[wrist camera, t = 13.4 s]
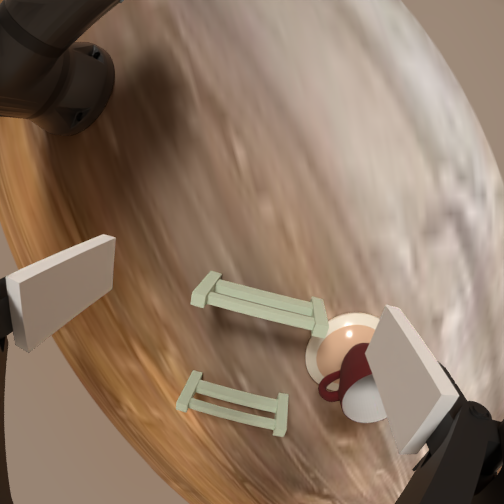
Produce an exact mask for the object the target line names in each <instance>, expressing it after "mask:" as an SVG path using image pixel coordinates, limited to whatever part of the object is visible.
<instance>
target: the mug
mask: <svg viewBox="0 0 504 504" xmlns="http://www.w3.org/2000/svg"><path fill="white" fill-rule="evenodd" d="M368 346H369V343H359V344H356V345H355V346H353V347H352V348H351V349H350V350H349V351H348V353H347V354H346V355H345V357H344V359H343V361H342V364H341V369H340V370H339V371H336V372H333V373H331V374H329V375H327V376H325V377H324V378H323V379H322V380H321V382H320V383H319V388H318V390H319V394H320V396H321V397H322V398H323V399H324V400H326V401H329V402H335V401H339V400H340V403H341V407H342V411H343V413H344V414H345V415H346V417H348V418H349V419H350V420H352V421H355V422H359V423H374V422H378V421H381V420H384V419H386V418H387V415H386V412H385V409H384V406H383V403H382V400H381V397H380V394H379V391H378V388H377V385H376V383H375V380H374V377H373V374H372V371H371V369H370V366H369V363H368V361H367V358H366V355H365V352H366V350H367V348H368ZM339 378H340V381H339V388H338V390H337V391H334V392H329V391H327V390H326V388H327V386H328V385H329V384H330V383H332V382H333V381H335V380H337V379H339Z"/></svg>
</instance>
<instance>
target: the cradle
mask: <svg viewBox="0 0 504 504" xmlns="http://www.w3.org/2000/svg"><path fill="white" fill-rule="evenodd" d="M221 276H222V274H221V273H217V272H214V271H210V272H209V274H208V275H207V276H206V277H205V278H204V279H203V280H202V282H201V283H200V284H199V285H198V286H197V287H196V288H195V290H194V291H193V292H192V297H191V305H194V306H198V307H201V308H204V307H205V305H206V304H210V305H213V306H217V307H221V308H224V309H228V310H232V311H235V312H239V313H243V314H247V315H251V316H254V317H258V318H262V319H266V320H270V321H274V322H278V323H283V324H287V325H291V326H295V327H299V328H304V329H308V330H311V333H312V336H315V337H319V338H324V339H325V337H326V334H327V332H328V329H329V324H328V319H327V315H326V310H325V306H324V302H323V299H320V298H316V297H312V298H311V301H310V302H307V301H303V300H299V299H295V298H291V297H287V296H283V295H279V294H275V293H271V292H267V291H263V290H259V289H255V288H251V287H247V286H243V285H240V284H236V283H232V282H228V281H224V280H221ZM214 292H216V293H214ZM218 293H220V294H218ZM221 294H224V295H221ZM225 295H228V296H225ZM229 296H231V297H229ZM232 297H235V298H232ZM236 298H239V299H236ZM240 299H243V300H240ZM244 300H247V301H244ZM248 301H250V302H248ZM252 302H254V303H252ZM255 303H258V304H255ZM259 304H262V305H259ZM263 305H266V306H263ZM267 306H270V307H267ZM271 307H274V308H271ZM275 308H278V309H275ZM279 309H282V310H279ZM283 310H286V311H283ZM287 311H290V312H287ZM292 312H294V313H292ZM296 313H299V314H296ZM300 314H303V315H300ZM304 315H307V316H304ZM308 316H310V317H308ZM201 379H202V372H198V371H195V370H193V371H192V373H191V375H190V377H189V379H188V381H187V383H186V385H185V387H184V389H183V391H182V393H181V394H180V396H179V398H178V400H177V403H176V409H177V410H180V411H183V412H187V410H188V408H190V409H193V410H197V411H200V412H203V413H207V414H210V415H214V416H217V417H221V418H225V419H228V420H232V421H236V422H240V423H244V424H248V425H253V426H257V427H262V428H266V429H271V430H273V435H275V436H280V437H284V435H285V433H286V430H287V414H288V394H284V393H279V394H278V397H277V399H272V398H268V397H263V396H259V395H255V394H251V393H247V392H243V391H239V390H235V389H231V388H228V387H224V386H220V385H217V384H213V383H210V382H206V381H203V380H201ZM195 392H197V393H200V394H203V395H207V396H210V397H213V398H217V399H220V400H224V401H228V402H232V403H235V404H239V405H243V406H247V407H251V408H256V409H260V410H264V411H269V412H274V413H275V418H274V419H270V418H266V417H261V416H257V415H253V414H248V413H244V412H240V411H236V410H232V409H229V408H225V407H221V406H218V405H214V404H211V403H207V402H204V401H200V400H197V399H194V398H193V397H194V395H195Z"/></svg>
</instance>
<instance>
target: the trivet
mask: <svg viewBox="0 0 504 504" xmlns="http://www.w3.org/2000/svg"><path fill="white" fill-rule="evenodd" d="M379 320H380V318H378V317H376V316H374V315H372V314H369V313H364V312H349V313H344V314H341V315H338V316H335V317H333V318H331V319H329V320H328V324H329V329H328V332H327V334H326V337H325V339H324V338H319V337H315V336H311V338H310V340H309V342H308V344H307V348H306V354H305V357H306V366H307V370H308V372H309V374H310V376H311V377H312V378H313V380H314V381H316V382H317V383H318V384H319V383H320V382H321V380H322V379H323V378H324V377H325V376H327V375H329V374H331V373H333V372H336V371H339V370H340V369H341V364H342V361H343V359H344V357H345V355H346V354H347V353H348V351H349V350H350V349H351V348H352V347H353V346H355V345H356V344H359V343H370V341H371V339H372V337H373V334H374V332H375V329H376V327H377V325H378V322H379ZM339 381H340V378H339V379H337V380H335V381H333V382H332V383H330V384H329V385H328V386H327V389H330V390H333V391H337V390H338V388H339Z"/></svg>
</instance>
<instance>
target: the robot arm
mask: <svg viewBox="0 0 504 504" xmlns="http://www.w3.org/2000/svg"><path fill="white" fill-rule="evenodd" d="M123 1H124V0H3V1H2V3H1V4H0V116H1V117H13V118H23V119H29V120H31V121H32V122H33V123H35V124H36V125H38V126H39V127H41V128H42V129H44V130H45V131H47V132H48V133H51V134H55V135H63V136H69V135H74V134H77V133H79V132H81V131H83V130H84V129H86V128H87V127H88V126H89V125H90V124H92V123H93V122H94V120H95V119H96V118H97V117H98V116H99V114H100V113H101V112H102V110H103V108H104V107H105V105H106V103H107V101H108V99H109V96H110V94H111V91H112V87H113V82H114V66H113V62H112V59H111V57H110V55H109V54H108V53H107V52H106V51H105V50H104V49H102V48H100V47H99V46H97V45H95V44H92V43H89V42H75V41H76V40H77V39H78V38H79V37H80V36H81V35H82V34H83V33H84V32H85V31H86V30H88V29H89V28H90V27H91V26H92V25H93V24H94V23H95V22H97V21H98V20H99V19H100V18H101V17H102V16H104V15H105V14H106V13H107V12H108V11H110V10H111V9H112V8H113V7H115V6H116V5H117V4H118V3H122V2H123ZM115 243H116V237H112V236H109V235H105V234H102V235H100V236H97V237H95V238H92V239H90V240H87V241H85V242H82V243H80V244H78V245H75V246H73V247H70V248H68V249H66V250H63V251H61V252H59V253H56V254H54V255H52V256H49V257H47V258H45V259H42V260H40V261H38V262H36V263H33V264H31V265H29V266H27V267H25V268H22V269H20V270H18V271H16V272H14V273H12V274H10V275H8V276H6V277H4V278H2V279H0V504H13V501H12V498H11V493H10V487H9V480H8V472H7V462H6V452H5V434H4V391H5V390H4V389H5V373H6V361H7V351H8V339H7V335H8V334H10V333H11V332H13V335H14V340H15V345H16V346H18V347H20V348H21V349H23V350H25V351H26V352H28V353H30V352H31V351H32V350H33V349H34V348H36V347H37V346H38V345H39V344H41V343H42V342H43V341H45V340H46V339H47V338H48V337H50V336H51V335H52V334H53V333H55V332H56V331H57V330H59V329H60V328H61V327H62V326H64V325H65V324H66V323H68V322H69V321H70V320H72V319H73V318H74V317H75V316H77V315H78V314H79V313H81V312H82V311H83V310H85V309H86V308H87V307H89V306H90V305H91V304H93V303H94V302H95V301H97V300H98V299H99V298H101V297H102V296H103V295H105V294H106V293H108V292H109V291H110V290H112V287H113V269H114V255H115ZM365 355H366V358H367V361H368V363H369V366H370V369H371V371H372V374H373V377H374V380H375V383H376V385H377V388H378V391H379V394H380V397H381V400H382V403H383V406H384V409H385V412H386V415H387V418H388V421H389V424H390V427H391V430H392V433H393V436H394V440H395V443H396V446H397V449H398V453H399V454H417V453H418V452H419V451H420V449H421V448H422V447H423V446H424V444H425V443H427V446H428V448H429V451H428V452H427V453H426V454H425V456H424V457H423V458H422V459H421V460H420V461H419V463H418V464H417V465H416V466H415V467H414V468H413V469H412V470H413V471H415V470H416V471H415V473H414V474H413V476H412V478H411V479H410V481H409V483H408V484H407V486H406V487H405V489H404V491H403V492H402V494H401V495H400V497H399V498H398V500H397V501H396V503H395V504H504V419H503V421H502V422H499V421H495V420H492V417H491V414H490V412H489V411H488V410H487V409H486V408H485V407H484V406H483V405H481V404H479V403H477V402H474V401H467V400H466V398H465V397H464V395H463V394H462V392H461V391H460V389H459V387H458V386H457V384H455V381H454V380H453V378H451V375H450V374H449V372H448V371H447V369H446V368H445V367H444V366H443V365H441V364H440V363H439V362H438V361H437V360H436V359H435V357H434V356H433V354H432V353H431V351H430V350H429V349H428V347H427V346H426V344H425V343H424V341H423V340H422V339H421V337H420V336H419V334H418V333H417V331H416V330H415V329H414V327H413V326H412V325H411V323H410V322H409V320H408V319H407V318H406V316H405V315H404V314H403V312H402V311H401V310H400V308H398V307H394V306H389V305H385V307H384V310H383V312H382V315H381V317H380V320H379V322H378V325H377V327H376V329H375V332H374V334H373V337H372V339H371V341H370V343H369V346H368V348H367V350H366V352H365ZM501 466H502V468H501V470H500V472H499V474H498V475H497V470H498V469H499V468H500V467H501Z"/></svg>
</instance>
